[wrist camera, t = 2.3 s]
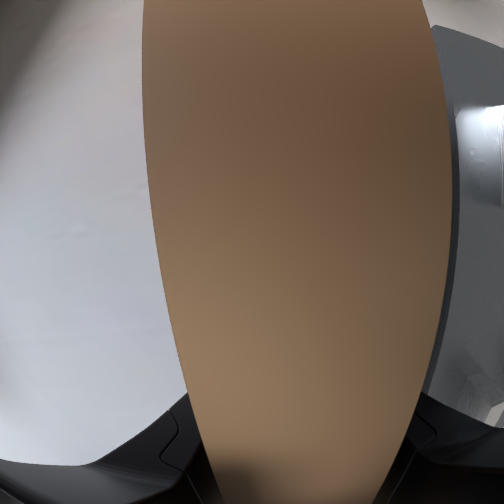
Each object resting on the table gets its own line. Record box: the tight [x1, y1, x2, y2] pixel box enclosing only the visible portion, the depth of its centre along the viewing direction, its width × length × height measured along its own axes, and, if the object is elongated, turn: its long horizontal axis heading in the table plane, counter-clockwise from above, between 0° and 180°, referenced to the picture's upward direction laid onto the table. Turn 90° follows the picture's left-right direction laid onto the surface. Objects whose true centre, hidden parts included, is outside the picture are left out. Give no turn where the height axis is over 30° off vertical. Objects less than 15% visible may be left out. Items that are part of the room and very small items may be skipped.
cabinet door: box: [142, 0, 452, 504], centre depth 7 cm, size 18×4×8 cm, turn 5°
